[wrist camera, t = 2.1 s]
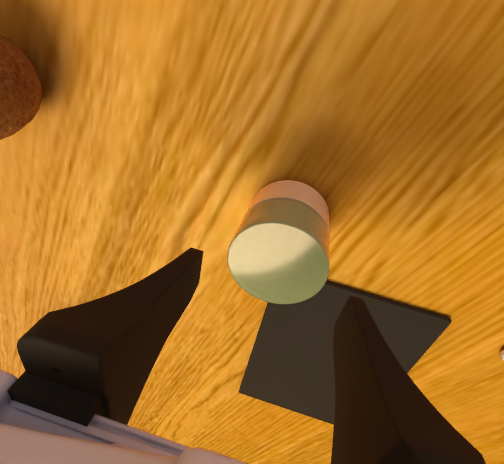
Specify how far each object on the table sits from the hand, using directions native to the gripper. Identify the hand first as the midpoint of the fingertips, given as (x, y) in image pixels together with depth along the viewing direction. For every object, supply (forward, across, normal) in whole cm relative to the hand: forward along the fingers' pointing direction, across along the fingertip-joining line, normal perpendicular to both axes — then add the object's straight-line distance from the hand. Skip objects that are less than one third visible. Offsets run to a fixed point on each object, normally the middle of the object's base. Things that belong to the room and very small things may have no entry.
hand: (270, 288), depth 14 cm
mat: (+8, -7, +14) cm, 17 cm away
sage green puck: (+5, 0, 0) cm, 5 cm away
